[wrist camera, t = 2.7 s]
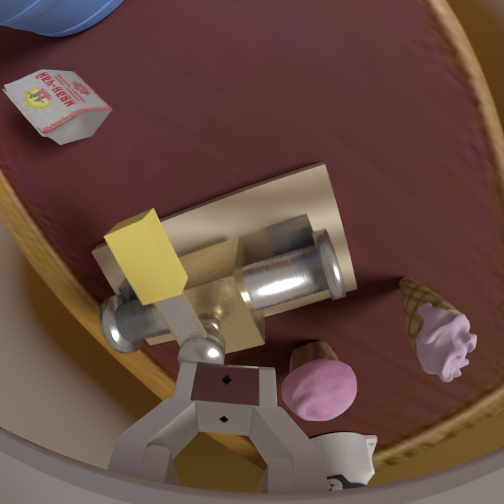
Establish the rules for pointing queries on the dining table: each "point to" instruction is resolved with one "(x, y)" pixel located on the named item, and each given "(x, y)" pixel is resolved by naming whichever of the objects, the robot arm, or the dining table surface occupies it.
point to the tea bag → (59, 104)
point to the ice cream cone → (436, 330)
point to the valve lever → (163, 284)
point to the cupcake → (318, 383)
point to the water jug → (55, 15)
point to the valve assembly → (241, 262)
